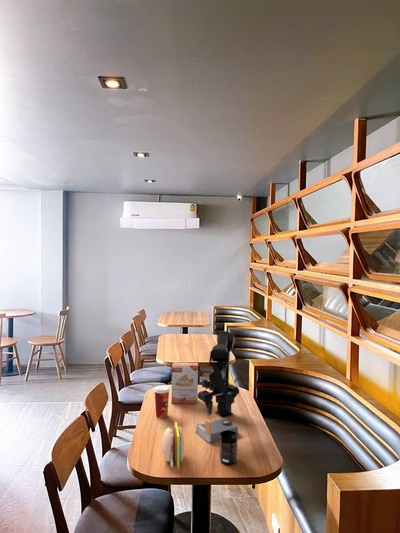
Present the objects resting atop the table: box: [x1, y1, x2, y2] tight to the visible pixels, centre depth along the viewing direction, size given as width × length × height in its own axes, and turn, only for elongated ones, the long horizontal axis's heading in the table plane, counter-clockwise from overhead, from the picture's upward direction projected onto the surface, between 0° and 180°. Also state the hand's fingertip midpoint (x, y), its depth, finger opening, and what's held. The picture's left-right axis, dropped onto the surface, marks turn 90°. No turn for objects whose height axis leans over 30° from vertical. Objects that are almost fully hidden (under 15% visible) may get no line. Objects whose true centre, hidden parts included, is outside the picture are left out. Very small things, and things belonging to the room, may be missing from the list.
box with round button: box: [199, 417, 239, 443], centre depth 164 cm, size 14×10×4 cm
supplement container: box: [219, 430, 239, 466], centre depth 142 cm, size 7×7×10 cm
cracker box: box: [171, 362, 199, 405], centre depth 198 cm, size 14×6×21 cm, turn 89°
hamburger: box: [161, 421, 185, 469], centre depth 143 cm, size 12×8×12 cm
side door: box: [195, 418, 212, 443], centre depth 160 cm, size 1×11×9 cm, turn 32°
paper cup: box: [153, 384, 171, 419], centre depth 181 cm, size 8×8×14 cm
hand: (218, 412), depth 161 cm, fingers open, 9 cm apart
